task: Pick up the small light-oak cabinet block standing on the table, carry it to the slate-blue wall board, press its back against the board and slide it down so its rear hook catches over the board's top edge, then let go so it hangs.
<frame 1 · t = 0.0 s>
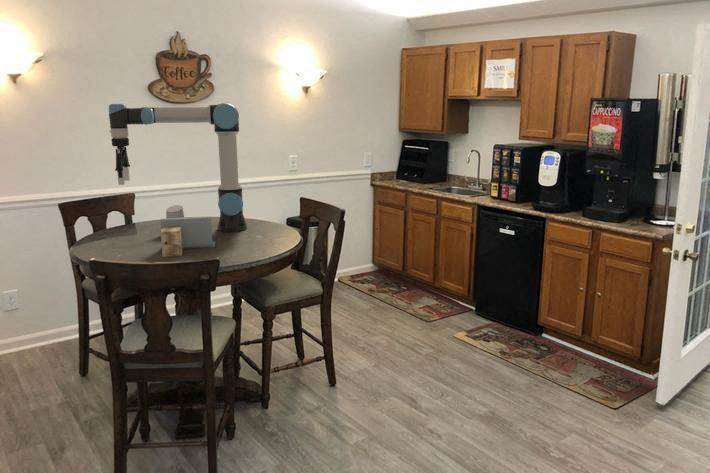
hand: (124, 182, 279), 28 cm above the table, fingers open, 13 cm apart
smart speaker: (176, 233, 298), on the table
wall board: (188, 247, 270), on the table
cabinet: (172, 254, 259), on the table
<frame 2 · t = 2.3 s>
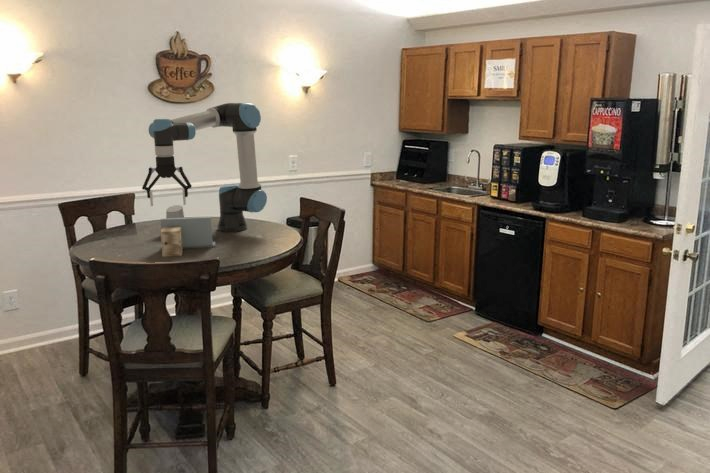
hand: (168, 205, 254), 22 cm above the table, fingers open, 13 cm apart
nothing on the table moved.
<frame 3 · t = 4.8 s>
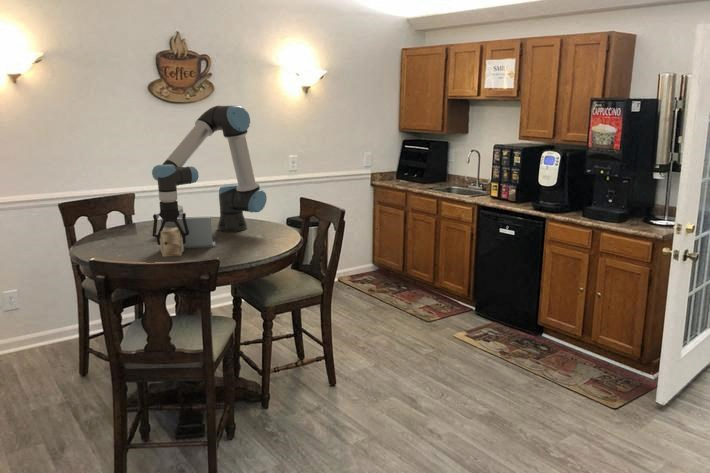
hand: (172, 251, 259), 1 cm above the table, fingers closed on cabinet, 8 cm apart
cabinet: (172, 254, 259), on the table, touching gripper
everything else where it was.
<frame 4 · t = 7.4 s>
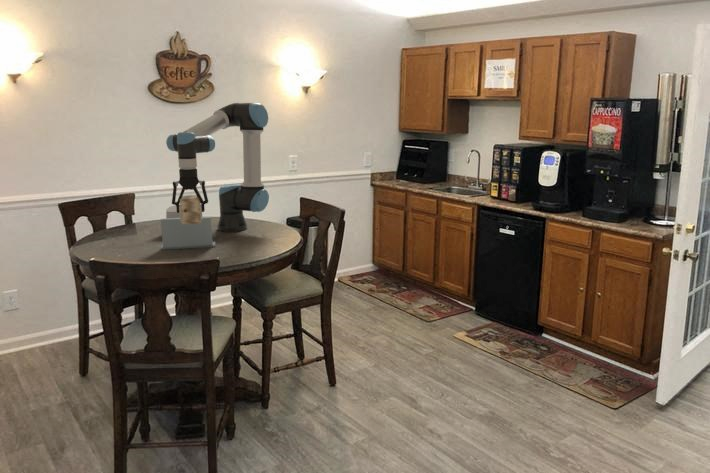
hand: (191, 219, 259), 15 cm above the table, fingers closed on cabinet, 8 cm apart
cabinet: (191, 222, 259), point 14 cm above the table, touching gripper
everything else where it was.
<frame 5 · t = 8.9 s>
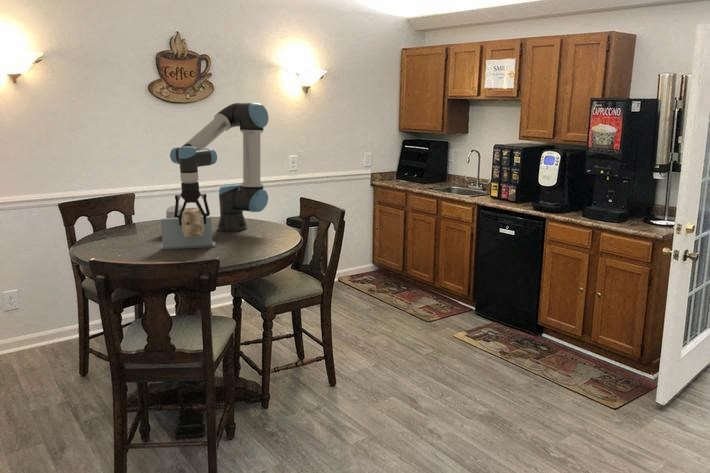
hand: (193, 231, 264), 9 cm above the table, fingers closed on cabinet, 8 cm apart
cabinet: (193, 234, 264), point 7 cm above the table, touching gripper
everything else where it was.
when the fingers open (6 cm above the table, at t = 10.0 s): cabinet stays where it is, resting on wall board.
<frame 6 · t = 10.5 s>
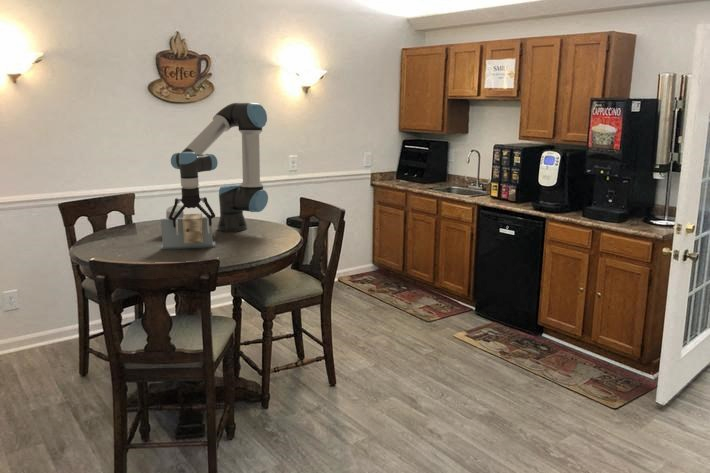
hand: (193, 233, 264), 7 cm above the table, fingers open, 13 cm apart
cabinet: (193, 240, 265), point 4 cm above the table, touching wall board
everything else where it was.
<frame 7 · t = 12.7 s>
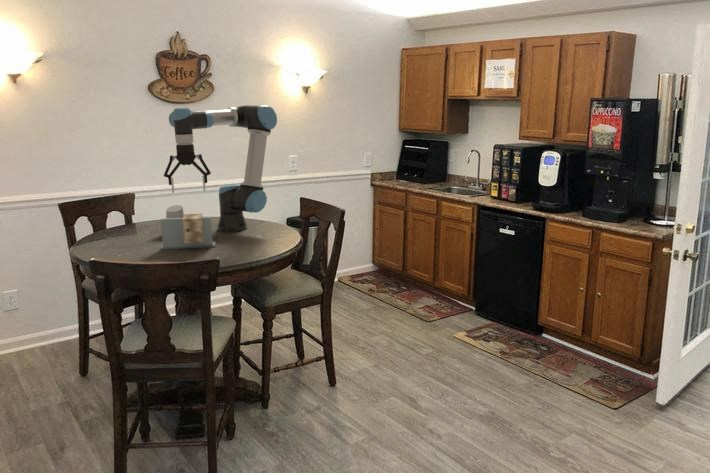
hand: (189, 191, 264), 26 cm above the table, fingers open, 13 cm apart
nothing on the table moved.
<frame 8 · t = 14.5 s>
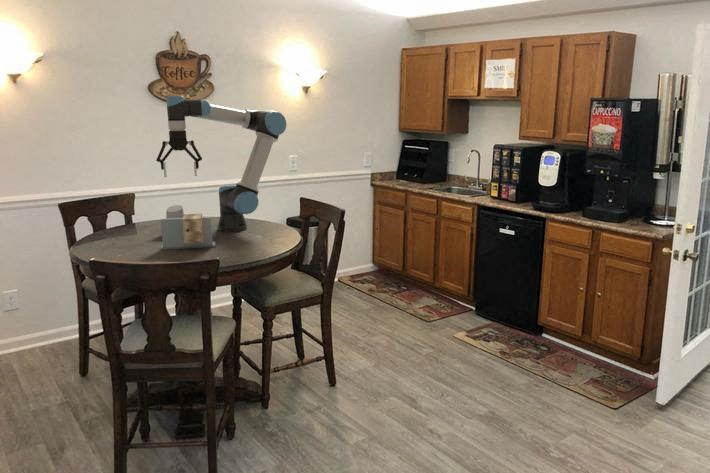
hand: (180, 176, 272), 32 cm above the table, fingers open, 13 cm apart
nothing on the table moved.
at the end: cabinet inside the target area (0.5 cm from its centre), point 4.1 cm above the table; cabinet tilted 2°; the gripper is holding nothing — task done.
